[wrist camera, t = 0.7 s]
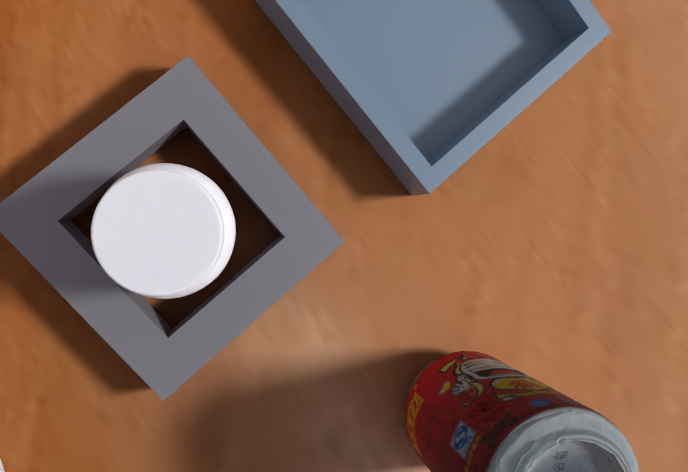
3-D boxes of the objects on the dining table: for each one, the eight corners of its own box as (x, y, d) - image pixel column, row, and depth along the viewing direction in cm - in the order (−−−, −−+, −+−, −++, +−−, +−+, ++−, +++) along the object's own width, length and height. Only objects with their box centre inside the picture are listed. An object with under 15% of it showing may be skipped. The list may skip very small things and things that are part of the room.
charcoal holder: (168, 386, 31) (163, 401, 28) (4, 215, 29) (-16, 215, 26) (335, 239, 32) (344, 241, 30) (190, 68, 30) (188, 55, 28)
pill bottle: (224, 167, 31) (225, 144, 21) (242, 271, 31) (251, 296, 22) (113, 182, 30) (60, 167, 20) (133, 290, 30) (90, 326, 21)
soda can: (500, 333, 35) (645, 397, 23) (513, 446, 35) (662, 568, 23) (387, 354, 33) (479, 434, 21) (403, 472, 34) (501, 615, 22)
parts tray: (411, 195, 33) (429, 193, 30) (250, -4, 31) (253, -27, 28) (579, 47, 35) (611, 31, 32) (438, -152, 33) (459, -188, 30)
